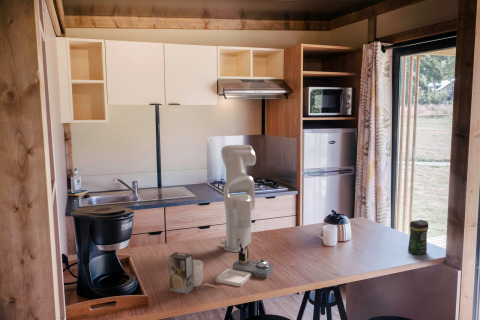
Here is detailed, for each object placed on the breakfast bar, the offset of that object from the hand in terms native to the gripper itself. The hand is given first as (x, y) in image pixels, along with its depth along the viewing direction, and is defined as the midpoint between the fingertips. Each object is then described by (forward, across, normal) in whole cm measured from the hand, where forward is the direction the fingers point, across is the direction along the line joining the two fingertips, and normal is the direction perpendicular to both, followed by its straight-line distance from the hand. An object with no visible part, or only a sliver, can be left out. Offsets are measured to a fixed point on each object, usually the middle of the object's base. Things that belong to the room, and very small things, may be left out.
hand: (243, 258), depth 200 cm
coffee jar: (+7, -66, +77) cm, 102 cm away
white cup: (+7, +22, -15) cm, 27 cm away
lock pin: (+6, 0, 0) cm, 6 cm away
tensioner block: (+7, 0, +5) cm, 8 cm away
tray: (+7, +11, 0) cm, 13 cm away
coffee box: (+7, +30, -17) cm, 35 cm away
